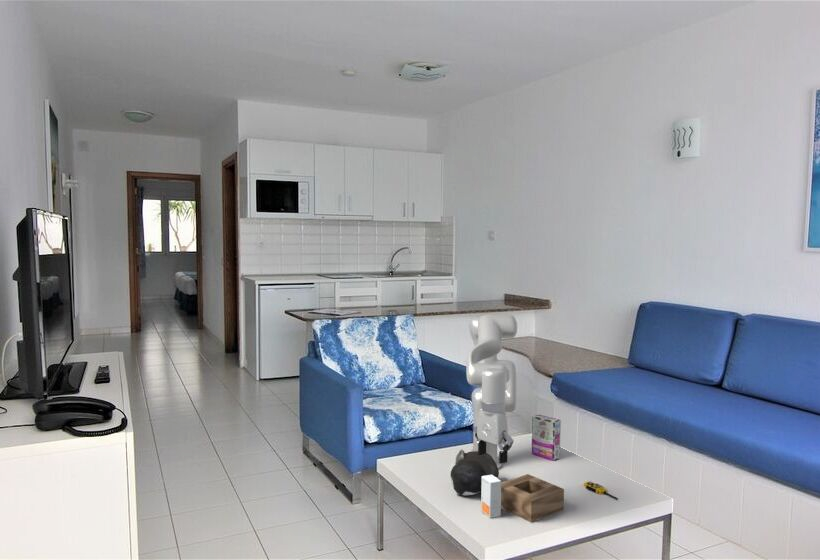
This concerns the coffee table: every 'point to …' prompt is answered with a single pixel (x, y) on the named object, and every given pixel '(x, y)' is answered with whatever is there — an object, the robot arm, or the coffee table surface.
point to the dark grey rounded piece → (471, 472)
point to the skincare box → (491, 496)
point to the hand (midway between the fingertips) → (492, 458)
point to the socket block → (531, 497)
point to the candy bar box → (546, 437)
